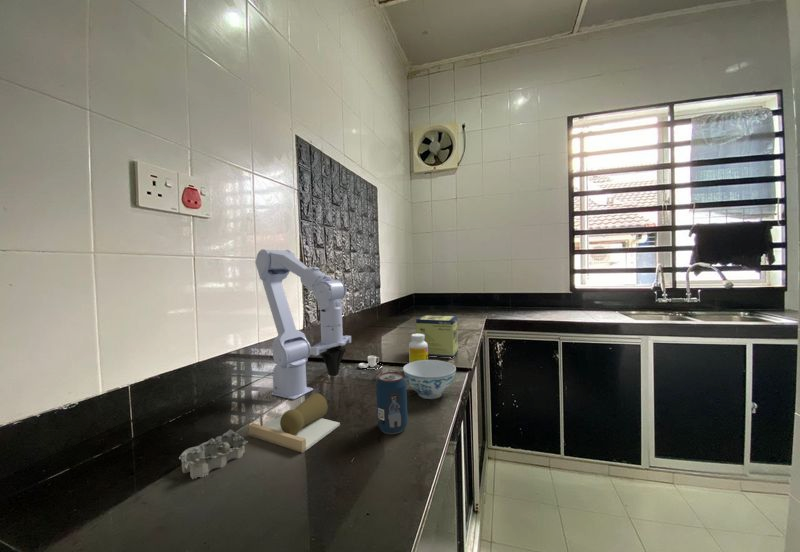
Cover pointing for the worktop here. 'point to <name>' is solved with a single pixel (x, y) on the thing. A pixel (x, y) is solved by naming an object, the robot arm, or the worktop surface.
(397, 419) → the soda can
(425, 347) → the supplement bottle
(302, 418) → the cork
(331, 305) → the robot arm
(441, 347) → the protein box
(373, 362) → the teacup and saucer
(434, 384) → the chinaware
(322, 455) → the worktop surface
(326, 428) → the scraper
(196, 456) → the egg carton
